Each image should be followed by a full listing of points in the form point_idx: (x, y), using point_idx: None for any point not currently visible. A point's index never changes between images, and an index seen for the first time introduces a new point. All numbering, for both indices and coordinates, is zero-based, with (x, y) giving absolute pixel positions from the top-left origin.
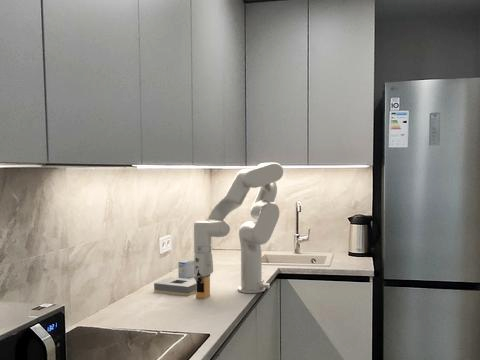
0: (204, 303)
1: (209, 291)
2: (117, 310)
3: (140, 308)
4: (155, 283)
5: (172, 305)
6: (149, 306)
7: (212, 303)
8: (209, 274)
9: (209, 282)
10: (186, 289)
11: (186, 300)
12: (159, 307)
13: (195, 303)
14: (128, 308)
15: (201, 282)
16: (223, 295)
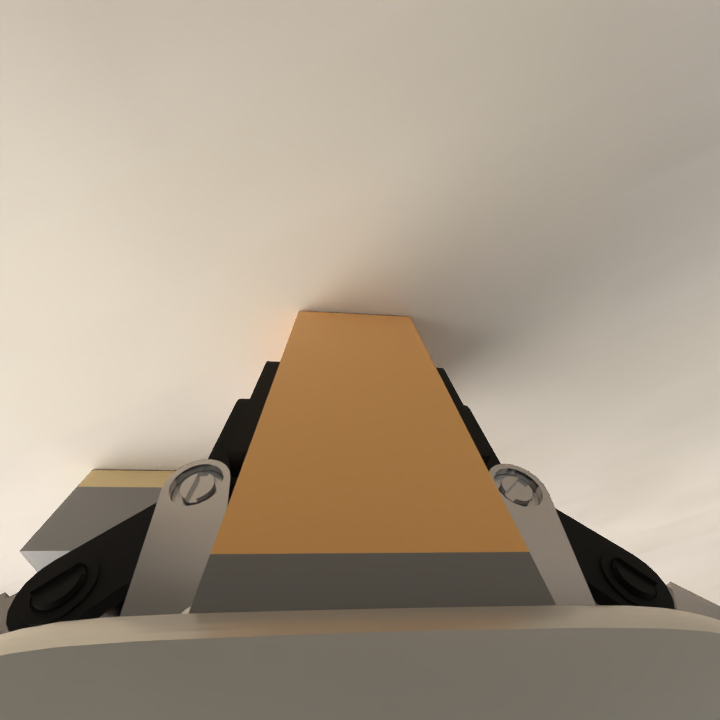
0: (612, 237)
1: (302, 335)
2: (705, 592)
3: (690, 548)
4: None
5: (650, 452)
6: (654, 535)
7: (621, 128)
8: (212, 610)
9: (277, 412)
10: None
11: (502, 431)
12: (690, 492)
13: (605, 327)
14: (678, 579)
15: (541, 486)
16: (179, 150)
